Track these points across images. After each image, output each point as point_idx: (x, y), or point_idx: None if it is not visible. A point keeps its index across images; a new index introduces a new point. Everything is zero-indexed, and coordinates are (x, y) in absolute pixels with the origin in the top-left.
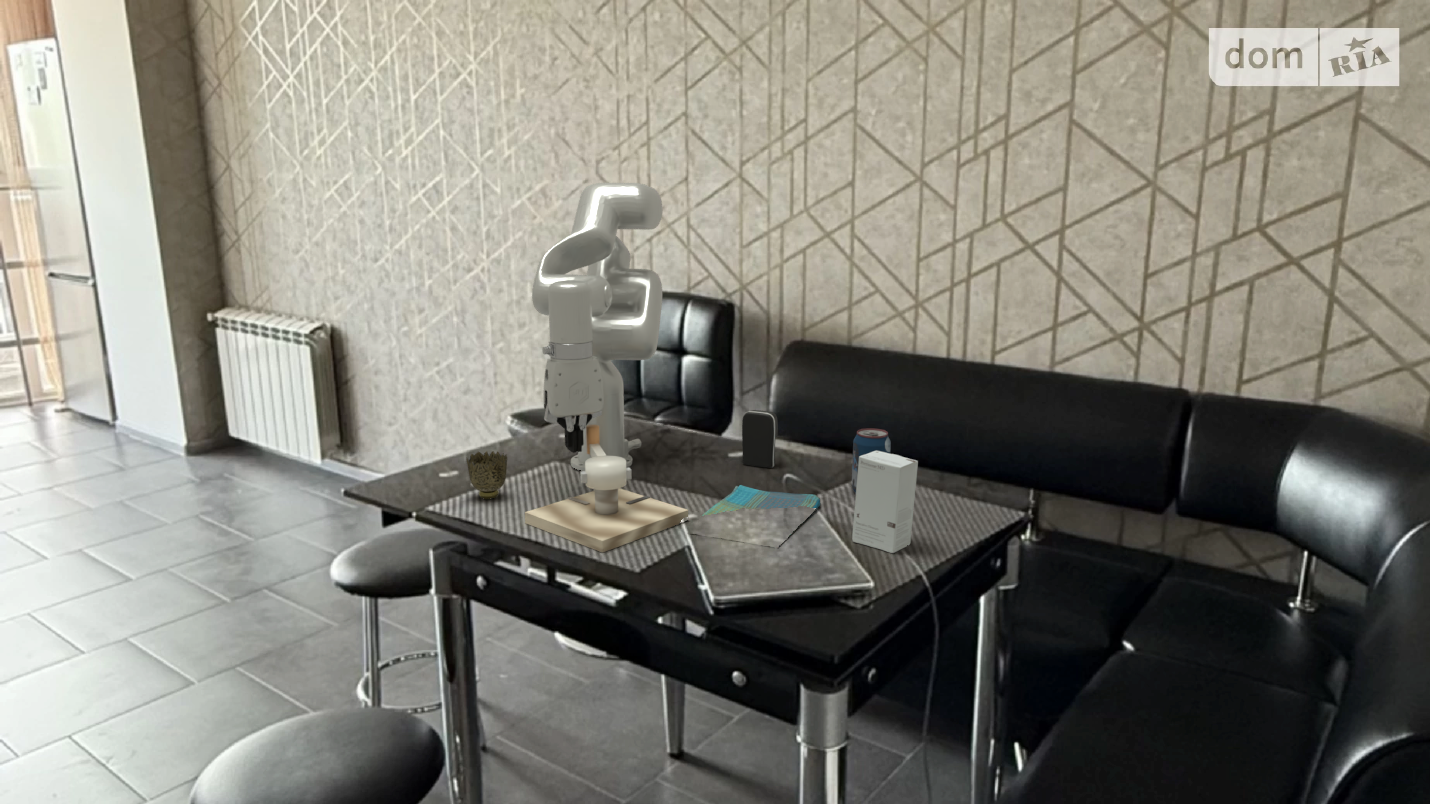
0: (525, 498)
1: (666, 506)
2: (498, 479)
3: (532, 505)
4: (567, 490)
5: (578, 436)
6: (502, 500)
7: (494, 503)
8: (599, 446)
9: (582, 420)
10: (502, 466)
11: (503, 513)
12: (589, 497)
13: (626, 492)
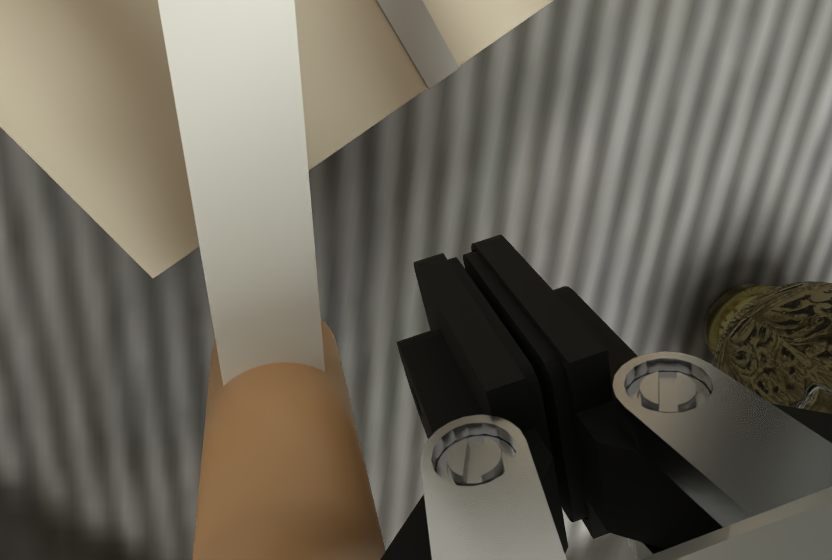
0: (601, 280)
1: None
2: (792, 308)
3: (596, 173)
4: (393, 362)
5: (498, 340)
6: (698, 269)
7: (739, 235)
8: (214, 260)
9: (512, 538)
10: (822, 357)
11: (749, 82)
12: (312, 64)
13: (30, 111)
